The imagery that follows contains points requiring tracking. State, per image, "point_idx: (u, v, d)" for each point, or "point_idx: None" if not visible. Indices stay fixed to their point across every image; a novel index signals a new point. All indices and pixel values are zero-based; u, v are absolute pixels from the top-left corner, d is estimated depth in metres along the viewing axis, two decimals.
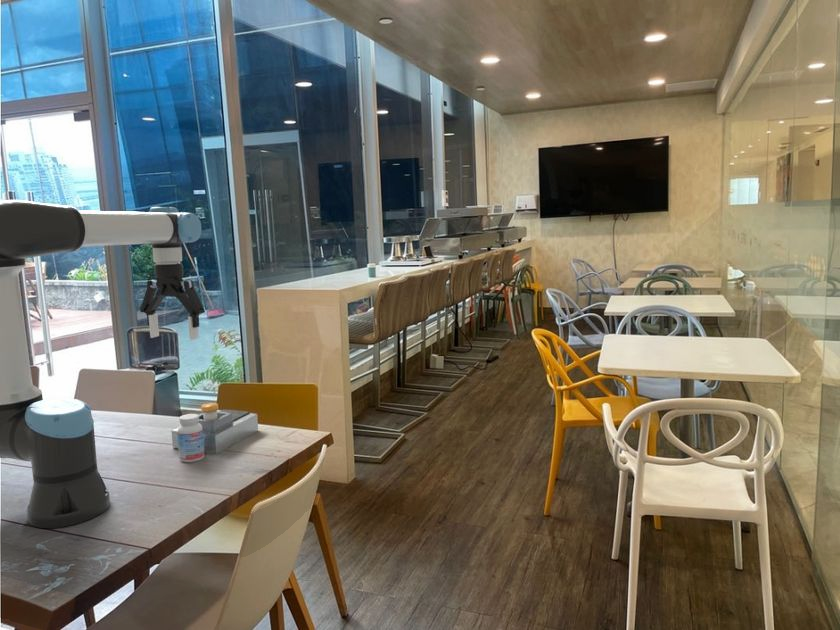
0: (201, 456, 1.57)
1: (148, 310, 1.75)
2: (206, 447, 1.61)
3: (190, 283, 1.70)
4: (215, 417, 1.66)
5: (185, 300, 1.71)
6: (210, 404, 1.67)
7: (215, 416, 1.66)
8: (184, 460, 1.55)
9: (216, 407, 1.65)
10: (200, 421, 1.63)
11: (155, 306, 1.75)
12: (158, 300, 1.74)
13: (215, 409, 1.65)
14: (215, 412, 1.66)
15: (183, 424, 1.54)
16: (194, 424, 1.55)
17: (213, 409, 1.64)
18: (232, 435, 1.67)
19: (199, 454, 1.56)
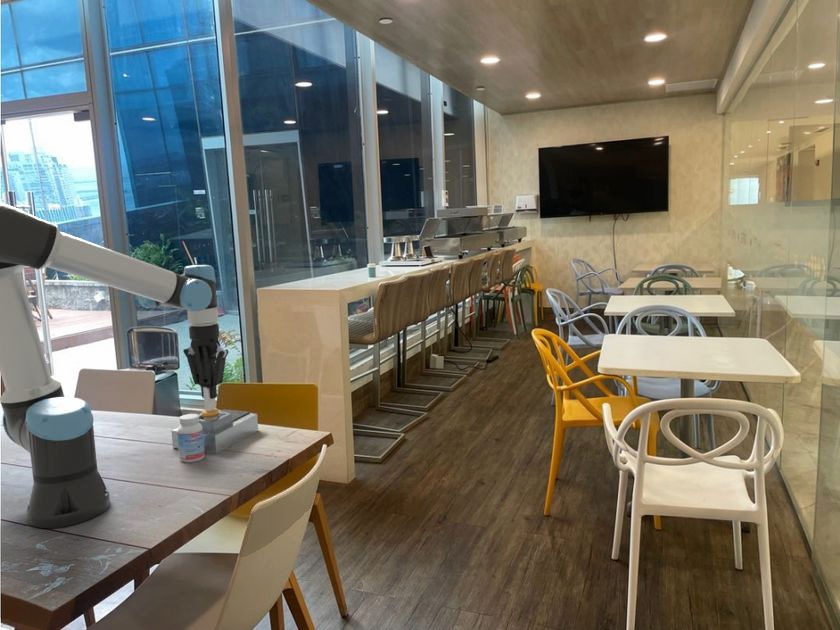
0: (201, 456, 1.57)
1: (201, 381, 1.64)
2: (206, 447, 1.61)
3: (225, 354, 1.62)
4: None
5: (211, 369, 1.63)
6: None
7: None
8: (184, 460, 1.55)
9: (216, 412, 1.65)
10: (200, 421, 1.63)
11: (205, 374, 1.65)
12: (203, 365, 1.64)
13: (215, 414, 1.65)
14: (215, 417, 1.66)
15: (183, 424, 1.54)
16: (194, 424, 1.55)
17: (213, 414, 1.65)
18: (232, 435, 1.67)
19: (199, 454, 1.56)
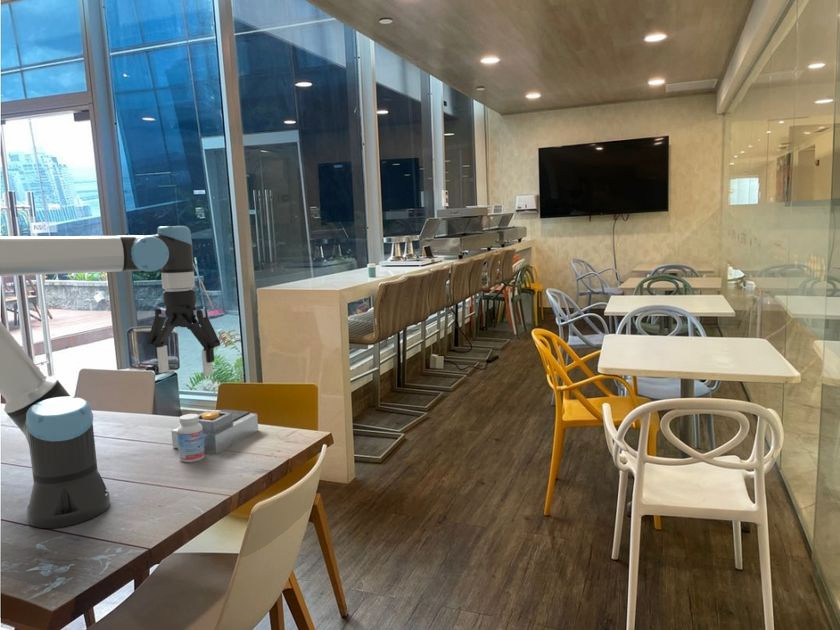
0: (201, 456, 1.57)
1: (156, 342, 1.54)
2: (206, 447, 1.61)
3: (203, 312, 1.50)
4: None
5: (198, 331, 1.50)
6: (211, 413, 1.67)
7: None
8: (184, 460, 1.55)
9: (217, 416, 1.66)
10: (200, 421, 1.63)
11: (164, 337, 1.55)
12: (168, 331, 1.54)
13: (216, 418, 1.65)
14: None
15: (183, 424, 1.54)
16: (194, 424, 1.55)
17: (214, 418, 1.65)
18: (232, 435, 1.67)
19: (199, 454, 1.56)
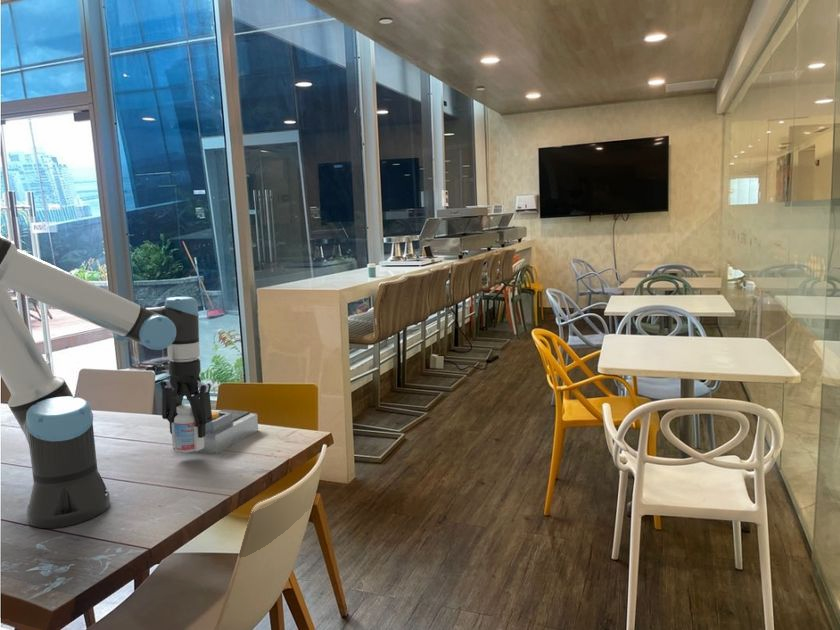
0: None
1: (170, 417, 1.56)
2: (206, 447, 1.61)
3: (207, 388, 1.53)
4: None
5: (196, 405, 1.54)
6: None
7: None
8: (180, 450, 1.54)
9: (217, 416, 1.66)
10: None
11: (176, 410, 1.56)
12: (177, 402, 1.55)
13: (216, 418, 1.65)
14: None
15: (180, 414, 1.53)
16: (191, 415, 1.54)
17: (214, 418, 1.65)
18: (232, 435, 1.67)
19: None
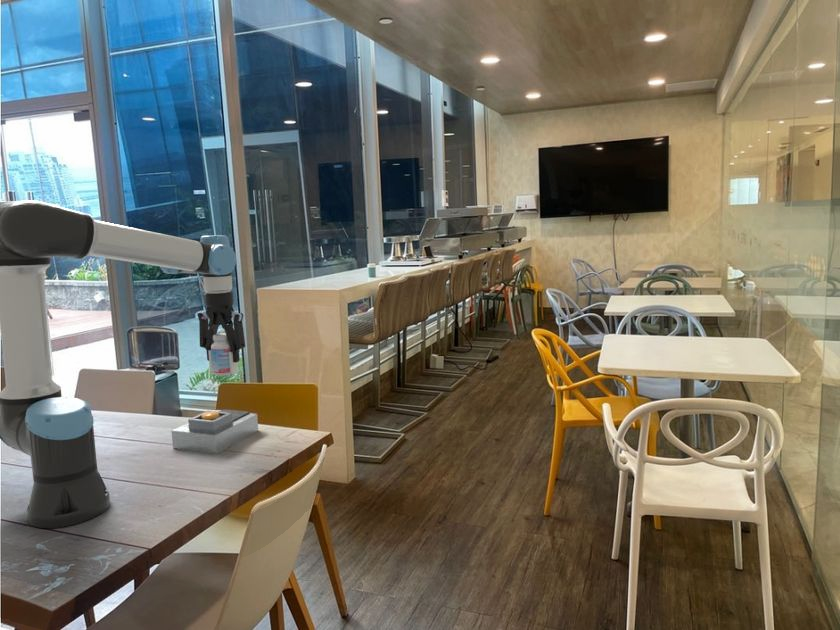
0: None
1: (207, 345, 1.73)
2: (206, 447, 1.61)
3: (240, 317, 1.69)
4: None
5: (230, 333, 1.70)
6: (211, 413, 1.67)
7: None
8: (217, 373, 1.71)
9: (217, 416, 1.66)
10: (200, 421, 1.63)
11: (212, 339, 1.73)
12: (213, 331, 1.72)
13: (216, 418, 1.65)
14: None
15: (216, 341, 1.70)
16: (226, 341, 1.71)
17: (214, 418, 1.65)
18: (232, 435, 1.67)
19: None
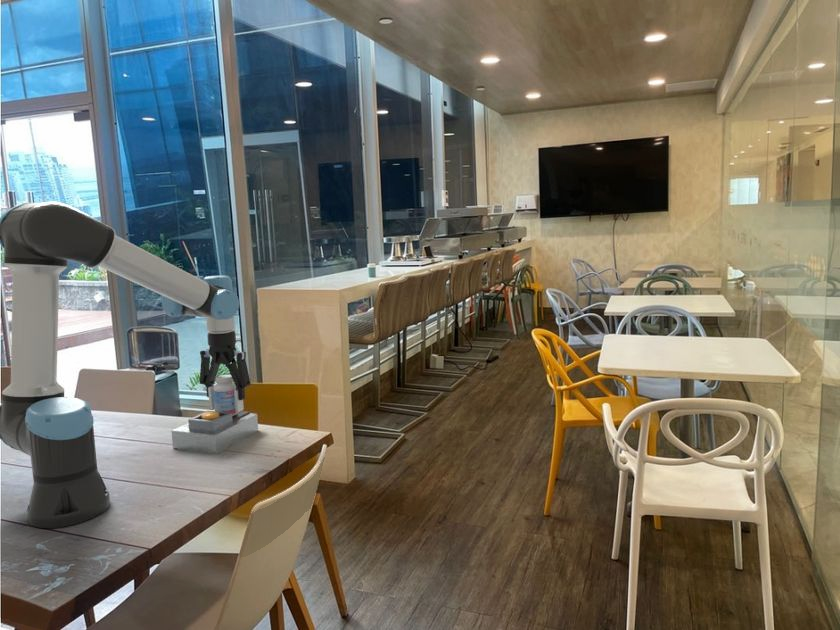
0: (235, 412, 1.74)
1: (207, 382, 1.75)
2: (206, 447, 1.61)
3: (243, 355, 1.71)
4: None
5: (234, 371, 1.72)
6: (211, 413, 1.67)
7: None
8: None
9: (217, 416, 1.66)
10: (200, 421, 1.63)
11: (213, 376, 1.75)
12: (214, 369, 1.74)
13: (216, 418, 1.65)
14: None
15: (219, 383, 1.72)
16: (228, 384, 1.73)
17: (214, 418, 1.65)
18: (232, 435, 1.67)
19: (233, 410, 1.74)
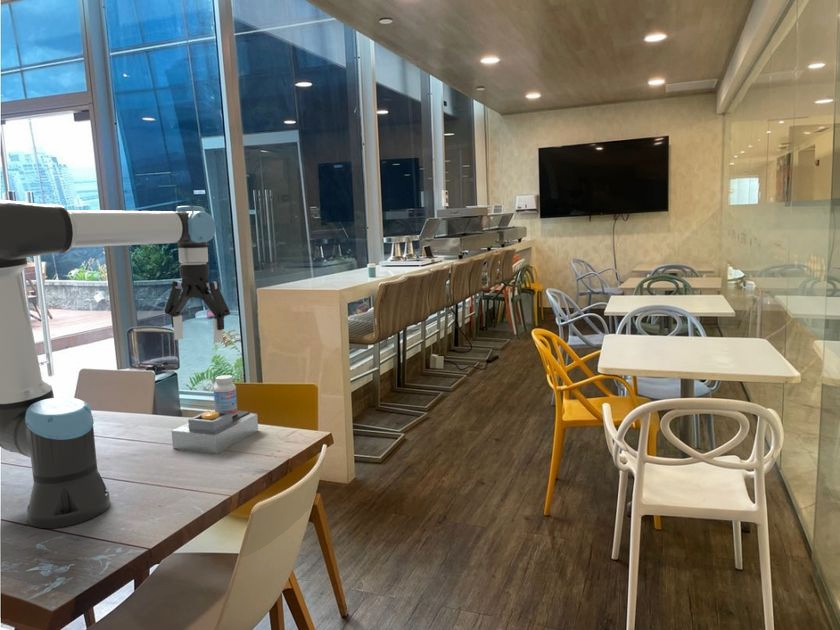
0: (235, 413, 1.74)
1: (173, 312, 1.71)
2: (206, 447, 1.61)
3: (215, 284, 1.66)
4: None
5: (210, 302, 1.66)
6: (211, 413, 1.67)
7: None
8: None
9: (217, 416, 1.66)
10: (200, 421, 1.63)
11: (180, 308, 1.71)
12: (183, 301, 1.70)
13: (216, 418, 1.65)
14: None
15: (219, 383, 1.72)
16: (228, 384, 1.73)
17: (214, 418, 1.65)
18: (232, 435, 1.67)
19: (233, 411, 1.74)
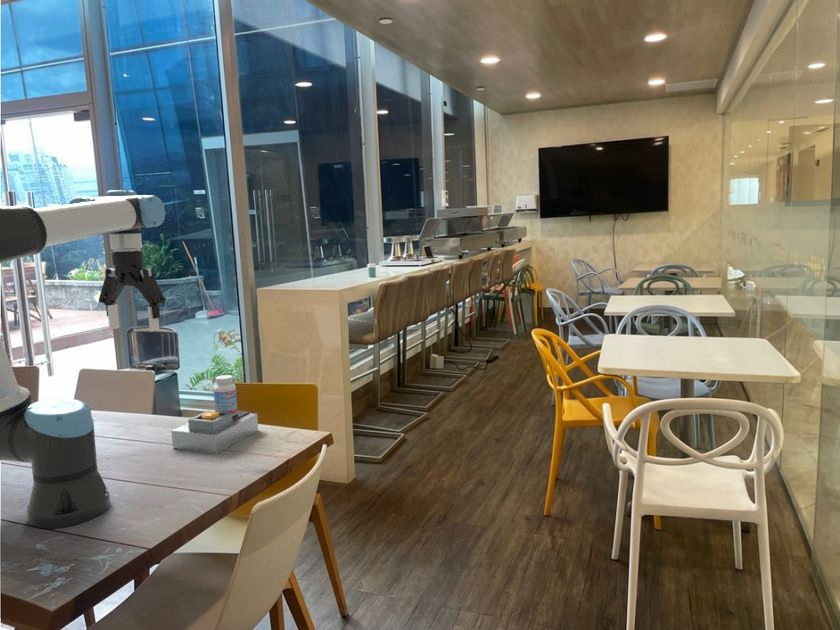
0: (235, 413, 1.74)
1: (107, 300, 1.66)
2: (206, 447, 1.61)
3: (149, 271, 1.61)
4: None
5: (144, 289, 1.62)
6: (211, 413, 1.67)
7: None
8: None
9: (217, 416, 1.66)
10: (200, 421, 1.63)
11: (114, 296, 1.66)
12: (117, 289, 1.65)
13: (216, 418, 1.65)
14: None
15: (219, 383, 1.72)
16: (228, 384, 1.73)
17: (214, 418, 1.65)
18: (232, 435, 1.67)
19: (233, 411, 1.74)
